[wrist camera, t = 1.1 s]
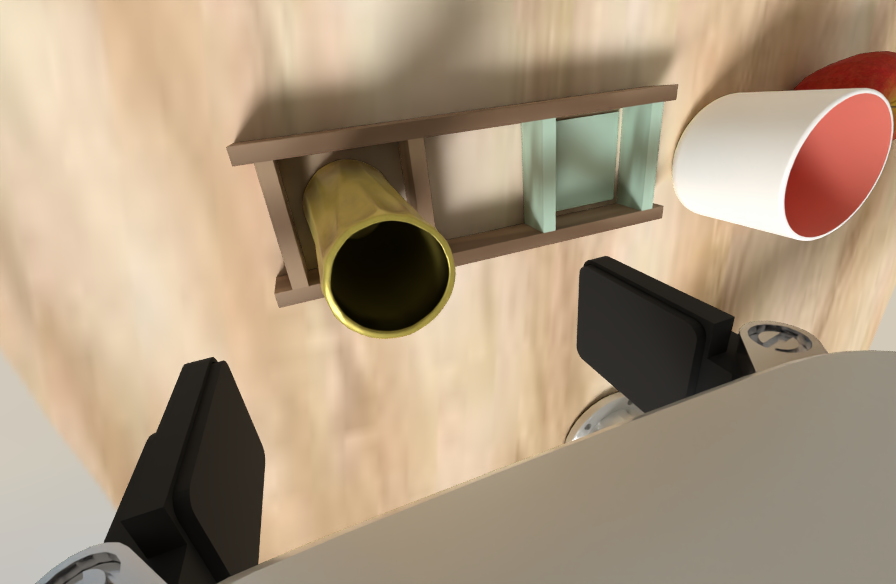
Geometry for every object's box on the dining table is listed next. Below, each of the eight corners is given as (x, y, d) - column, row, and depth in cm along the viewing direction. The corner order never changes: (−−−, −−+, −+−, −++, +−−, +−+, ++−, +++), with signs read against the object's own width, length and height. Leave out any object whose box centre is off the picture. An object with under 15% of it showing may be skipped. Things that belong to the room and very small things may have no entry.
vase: (308, 150, 26) (319, 186, 14) (401, 169, 28) (483, 215, 16) (298, 242, 28) (301, 347, 16) (386, 253, 30) (448, 351, 18)
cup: (645, 192, 36) (756, 219, 27) (703, 72, 33) (847, 59, 24) (715, 224, 40) (831, 255, 31) (772, 119, 37) (916, 123, 29)
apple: (834, 41, 36) (958, 26, 29) (830, 127, 40) (939, 131, 33) (765, 83, 35) (876, 77, 29) (768, 166, 39) (866, 178, 33)
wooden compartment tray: (635, 210, 36) (662, 218, 34) (280, 290, 29) (279, 307, 26) (646, 86, 32) (678, 84, 29) (233, 143, 25) (226, 147, 22)
